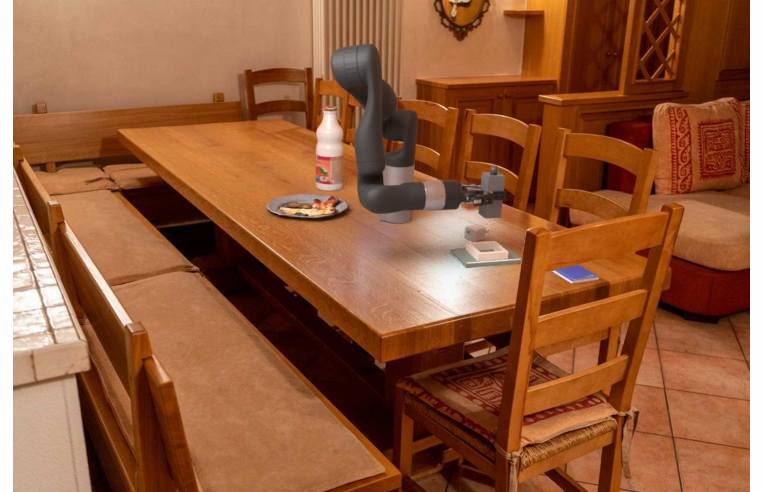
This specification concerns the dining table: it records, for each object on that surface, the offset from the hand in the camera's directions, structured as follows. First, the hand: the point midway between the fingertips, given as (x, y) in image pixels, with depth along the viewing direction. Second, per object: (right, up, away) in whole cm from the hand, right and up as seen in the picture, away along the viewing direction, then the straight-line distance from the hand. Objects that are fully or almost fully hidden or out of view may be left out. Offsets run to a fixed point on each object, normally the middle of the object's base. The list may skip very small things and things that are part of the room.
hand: (501, 192), depth 177 cm
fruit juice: (-49, +6, +64) cm, 81 cm away
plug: (-3, -6, +1) cm, 7 cm away
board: (-3, -17, +6) cm, 18 cm away
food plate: (-54, -3, +39) cm, 66 cm away
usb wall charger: (-3, -12, +20) cm, 23 cm away
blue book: (+17, -21, -1) cm, 27 cm away
